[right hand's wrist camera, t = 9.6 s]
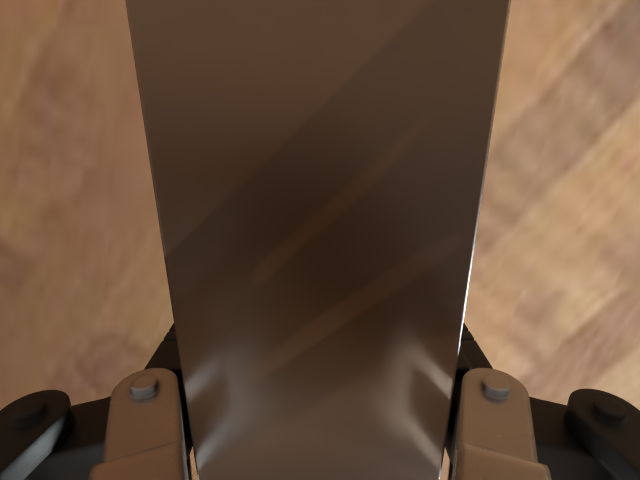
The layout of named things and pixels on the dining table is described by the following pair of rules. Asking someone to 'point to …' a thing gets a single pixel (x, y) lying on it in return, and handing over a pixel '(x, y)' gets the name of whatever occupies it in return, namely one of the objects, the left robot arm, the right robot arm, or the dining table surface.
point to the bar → (318, 221)
